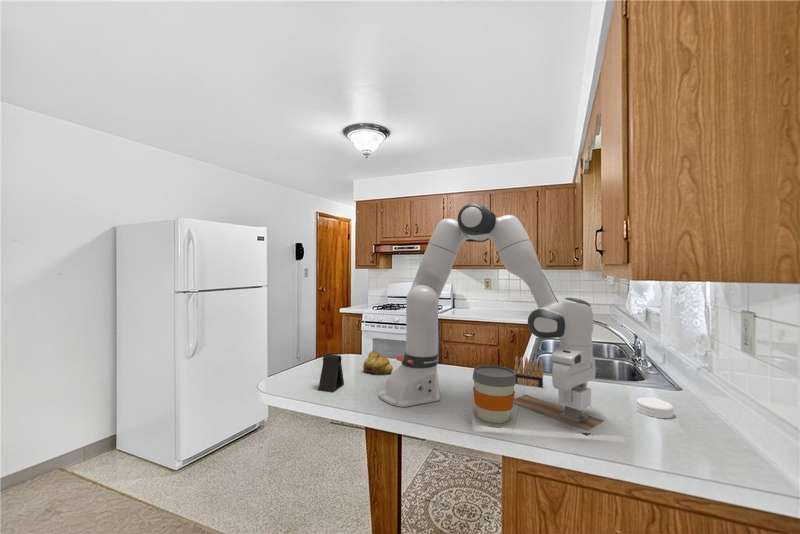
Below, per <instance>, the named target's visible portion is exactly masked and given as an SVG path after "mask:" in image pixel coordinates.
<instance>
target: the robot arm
mask: <svg viewBox="0 0 800 534" xmlns="http://www.w3.org/2000/svg"><path fill="white" fill-rule="evenodd" d="M489 240H491V241H492V243H493V245H494V246H495V248H496V252H497V255H498V257H499V259H500V261H501V263H502V264H503V266H504V267H505V269H506V271H507V272H509V273H510V274H513V275H515V276H516V277H518V278H519V279H521V280H522V281H523V282H524V283H525V284H526V285H527V287H528V288H529V291H530V293H531V295H532V297H533V299H534V301H535V303H536V305H537V308H535V309H534V310H533V311H532V312H530V314H529V315H528V319H527V326H528V330H529V331H530V333H532V335H533V336H535V337H537V338H539V339H545V340H546V339H548V340H549V339H556V338H557V339H559V346H558V347H557V349H556V350H554V351H553V352H552V353H551V361H554V362H553V363H552V370H551V373H552V374H551V379H552V383H551V384H552V386H553V388H554V389H556V390H558V391H559V390H562V392H563V394H564V401H565V402H567V403H570V402H572V397H573V396H571V393H570V392H571V388H573V387H576V386H578V385H581V384H583V385H584V387H587V388H588V382H590V381H593V380H594V379H595V378H596V370H597V369H596V359H595V357H594V355H593V350H594V349H593V347H594V345H593V344H594V343H593V339H592V335H593V332H594V314H593V308H592V305H591V304H590V303H589V302H587V301H585V300H583V299H579V298H575V297H565V298H563V299H562V300H560V301H559V300H558V299H557V297H556V295H555V294H554V292H553V289H552V288H551V285H550V283H549V282H548V279H547V277H546V275H545V274H544V272H543V269H542V267H541V264H540V262H539V258H538V255H537V253H536V250H535V248H534V244H533V243H532V241H531V239H530V237H529V234H528V232H527V230H526V229H525V227H524V226H523V224H522V223H521V221H520V220H519V218H518V217H517V216H515V215H512V214H507V215H506V214H505V215H502V216H499V217H497V215H496V214H495V212H492V211H491V210H490V209H488V208H487V207H485V206H484V205H482V204H479V203H476V202H474V203H467V204H465V205H463V207H462V208H460V210H459V211H458V215H457V218H456V219H454V218H444V219H441V220H440V221H439V223H438V224H437V225H436V227H435V229H434V230H433V232H432V234H431V237H430V239H429V241H428V243H427V246H426V249H425V251H424V254H423V255H422V259H421V261H420V264H419V266H418V269H417V270H416V271H417V272H416V274H415V277H414V279H413V282H412V285H411V287H410V289H409V291H408V293H407V294H406V295H407V296H406V301H405V302H406V304H405V307H406V309H405V310H406V311H405V312H406V314H405V322H406V324H405V325H406V334H405V335H406V337H405V338H406V339H405V340H406V341H405V351H404V355H401V354H397V355H396V361H398V362H401V363H400V365H399V366H398V367H397V368H396V370H394V371H392V372H391V373H392V374H390V375H389V376H388V377H387V379H386V382H385V387H384V390H380V391H378V398H380V400H382V401H383V402H385V403H387V404H390V405H392V406H394V407H395V406H397V407H401V408H405V407H412V406H416V405H417V406H418V405H422V404H429V403H435V402H438V401H441V391H440V387H439V378H438V377H439V376H438V368H437V366H438V364H439V363H438V361H439V357H438V356H439V355H438V352H437V351H438V350H437V349H438V328H439V327H438V324H439V304H440V303H439V299H440V296H441V295H442V291H443V290H444V287H445V285H446V283H447V281H448V279H449V276H450V274H451V271H452V269H453V266H454V264H455V261H456V259H457V256H458V254H459V251H460V248H461V246H462V245H463V243H464V242H473V243H476V242H477V243H485V242H487V241H489Z"/></svg>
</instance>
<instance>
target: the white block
mask: <svg viewBox="0 0 800 534" xmlns="http://www.w3.org/2000/svg"><path fill="white" fill-rule="evenodd" d="M570 393H571V396H573V397H572V402H570V403H567V402H565V401H564V394H563V392H562V390H559V389H558V400H557V402H558V403H557V405H560V406H564V407H565V406H568V407H571V408H574V409H577V410H580V411H581V410H583V411H584V409H587V408H588V407H590V406H591V405H592V404H591V403H592V388H591V387H588V386H587V387H584V385H583V384H581V385H578V386H576V387H573V388H571V392H570Z"/></svg>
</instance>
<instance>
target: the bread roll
mask: <svg viewBox="0 0 800 534" xmlns="http://www.w3.org/2000/svg"><path fill="white" fill-rule="evenodd" d="M390 362H391V361H390V359H389V358H388V357H387V356H385V355H381V354H379V352H378V351H376V350H372V351H370V352H369V353H368V356H367V358H366V359H365V360H364V362H363V366H362V367H363V370H364V371H365V372H367V373H371V374H379V375H380V374H381V375H382V374H383V375H387V374H390V373H393V369H394V368H393V365H392V364H391V363H390Z"/></svg>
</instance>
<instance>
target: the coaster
mask: <svg viewBox="0 0 800 534" xmlns="http://www.w3.org/2000/svg"><path fill="white" fill-rule="evenodd" d="M635 405H636V406H635V409H636V411H637V412H639V413H640V414H642V413H643V415H645V414H646V415H645V416H647V415H649V416H648V417H651V416H653V417H652V418H655V417H658V418H657V419H662V418H669V419H673V418H674V409H675V407H674V406H673V404H671V403H670V402H667V401H665V400H662V399H658V398H654V397H647V396H646V397H638V398H636V403H635Z"/></svg>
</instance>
